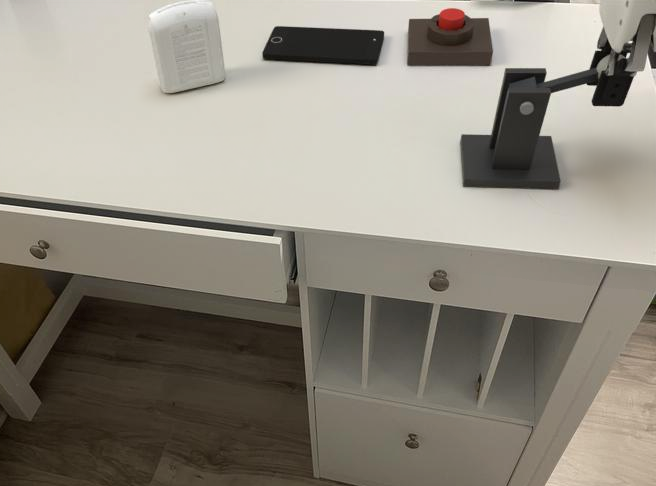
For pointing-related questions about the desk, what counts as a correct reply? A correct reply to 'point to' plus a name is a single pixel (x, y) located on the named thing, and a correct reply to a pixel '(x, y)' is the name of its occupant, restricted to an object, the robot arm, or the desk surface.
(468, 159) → the pivot bracket stand
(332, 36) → the cell phone
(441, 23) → the power button
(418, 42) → the brown button base
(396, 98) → the desk surface
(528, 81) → the lever switch
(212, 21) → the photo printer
